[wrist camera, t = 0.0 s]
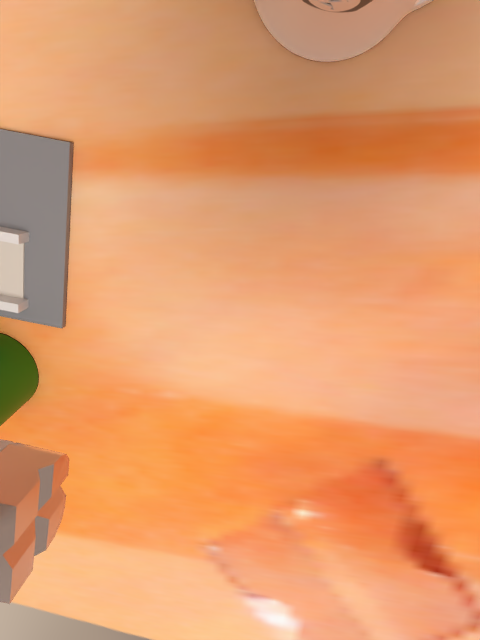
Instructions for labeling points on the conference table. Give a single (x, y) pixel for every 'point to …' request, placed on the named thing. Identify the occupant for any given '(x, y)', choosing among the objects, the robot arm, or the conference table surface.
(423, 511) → the conference table surface
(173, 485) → the conference table surface
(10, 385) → the motor
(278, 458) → the conference table surface
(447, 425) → the conference table surface
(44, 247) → the mounting plate
